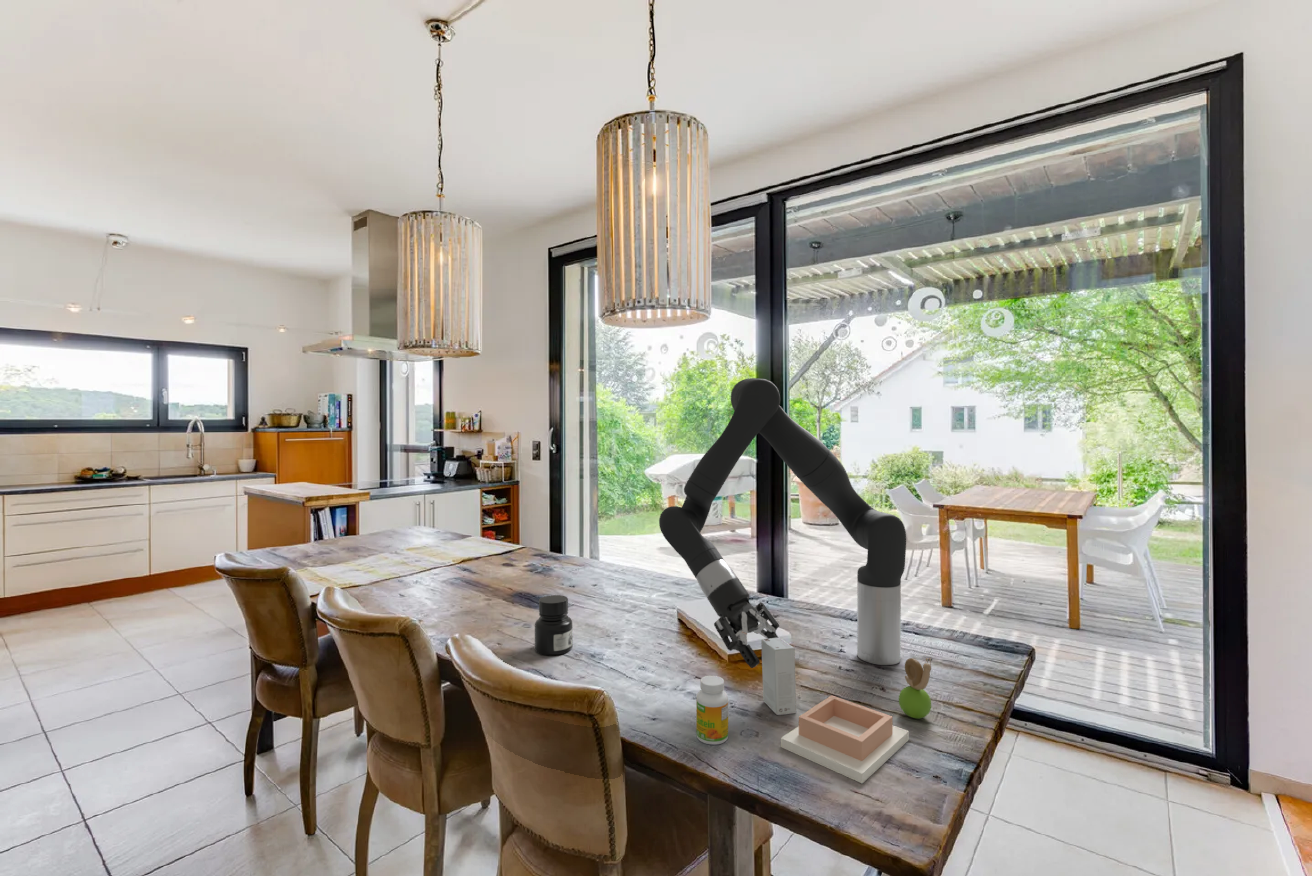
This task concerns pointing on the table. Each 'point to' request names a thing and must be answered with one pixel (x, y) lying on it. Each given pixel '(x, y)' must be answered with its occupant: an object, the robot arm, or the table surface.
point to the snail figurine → (916, 689)
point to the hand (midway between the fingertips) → (769, 659)
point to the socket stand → (845, 738)
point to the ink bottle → (553, 626)
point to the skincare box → (779, 675)
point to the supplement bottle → (712, 711)
